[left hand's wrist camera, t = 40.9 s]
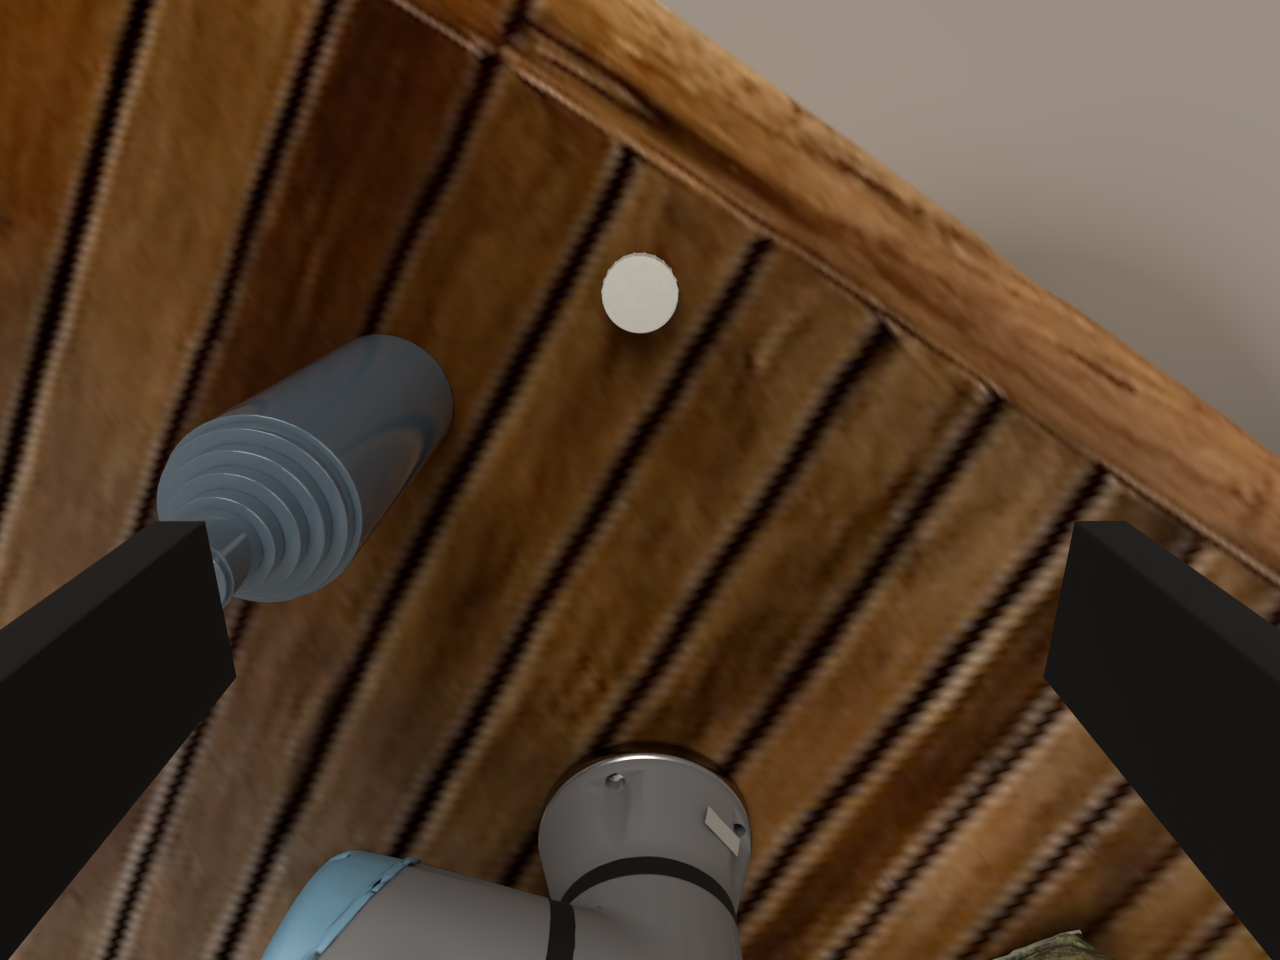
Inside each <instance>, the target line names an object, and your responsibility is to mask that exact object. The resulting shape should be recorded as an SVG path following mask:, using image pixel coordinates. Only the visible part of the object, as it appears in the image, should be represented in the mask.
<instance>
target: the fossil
mask: <svg viewBox="0 0 1280 960" xmlns="http://www.w3.org/2000/svg"><path fill="white" fill-rule="evenodd" d="M993 960H1113V959H1112V958H1110V957H1109V956H1107V955H1103V954H1099V953H1097V952H1096V951H1095V950H1094V948H1093V947H1092V946H1091V945H1090V944H1089V943H1088V942H1087V941H1086V940H1085V939H1084V937H1083V935H1082V933H1081V931H1080V930H1075V931H1070V932H1065V933H1060V934H1057V935H1055V936H1053V937H1051V938H1047V939H1044V940H1041V941H1038V942H1036V943H1033V944H1031V945H1028V946H1026V947H1023V948H1020V949H1017V950H1014V951H1012V952H1011V953H1010V954H1009V955H1006V956H1003V957H1000V958H997V959H993Z"/></svg>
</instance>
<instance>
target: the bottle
mask: <svg viewBox="0 0 1280 960" xmlns="http://www.w3.org/2000/svg"><path fill="white" fill-rule="evenodd" d="M452 416H453V397H452V392H451V388H450V385H449V382H448V380H447V378H446V376H445V374H444V372H443V371H442V369H441V367H440V366H439V365H438V363H437V362H436V361H435V360H434V359H433V358H432V357H431V356H430V355H429V354H428V353H427V352H426V351H424V350H423V349H422V348H420V347H419V346H417V345H415V344H414V343H412V342H410V341H407V340H405V339H402V338H399V337H396V336H390V335H378V334H377V335H367V336H363V337H359V338H356V339H354V340H351V341H349V342H348V343H346V344H344V345H342V346H341V347H339V348H337V349H335V350H333V351H332V352H330V353H328V354H326V355H325V356H323V357H321V358H319V359H317V360H316V361H314V362H312V363H310V364H309V365H307V366H305V367H303V368H302V369H300V370H298V371H296V372H294V373H293V374H291V375H289V376H287V377H286V378H284V379H282V380H280V381H278V382H277V383H275V384H273V385H271V386H270V387H268V388H266V389H264V390H263V391H261V392H259V393H257V394H255V395H254V396H252V397H250V398H248V399H247V400H245V401H243V402H241V403H239V404H238V405H236V406H234V407H232V408H231V409H229V410H227V411H225V412H224V413H222V414H220V415H218V416H216V417H215V418H213V419H211V420H209V421H208V422H206V423H204V424H202V425H200V426H199V427H197V428H195V429H194V430H193V431H191V432H190V433H189V434H187V435H186V436H185V437H184V438H183V439H182V440H181V441H180V442H179V443H178V445H177V446H176V448H175V449H174V451H173V452H172V453H171V455H170V457H169V460H168V462H167V464H166V467H165V469H164V471H163V473H162V475H161V479H160V482H159V486H158V493H157V511H158V517H159V521H205V523H206V528H207V533H208V538H209V543H210V548H211V553H212V558H213V563H214V568H215V573H216V578H217V583H218V588H219V593H220V598H221V603H222V608H223V609H224V608H225V607H226V606H227V604H228V603H229V602H230V601H231V599H232V597H237V598H241V599H244V600H250V601H256V602H278V601H285V600H290V599H294V598H297V597H300V596H303V595H305V594H308V593H311V592H314V591H316V590H318V589H320V588H322V587H324V586H326V585H328V584H329V583H331V582H332V581H333V580H335V579H336V578H337V577H338V576H339V575H340V574H341V573H342V572H344V570H345V569H346V568H347V566H348V565H349V564H350V563H351V561H352V560H353V559H354V557H355V556H356V555H357V553H358V552H359V551H360V549H361V548H362V547H363V545H364V544H365V543H366V541H367V540H368V539H369V537H370V536H371V535H372V533H373V532H374V531H375V529H376V528H377V527H378V525H379V524H380V523H381V521H382V520H383V519H384V517H385V516H386V515H387V513H388V512H389V511H390V509H391V508H392V507H393V505H394V504H395V503H396V501H397V500H398V499H399V497H400V496H401V495H402V493H403V492H404V491H405V489H406V488H407V487H408V486H409V484H410V483H411V482H412V480H413V479H414V478H415V476H416V475H417V474H418V472H419V471H420V470H421V468H422V467H423V466H424V464H425V463H426V462H427V460H428V459H429V458H430V456H431V455H432V454H433V452H434V451H435V450H436V448H437V447H438V446H439V444H440V443H441V442H442V440H443V439H444V437H445V435H446V434H447V432H448V429H449V427H450V424H451V420H452Z"/></svg>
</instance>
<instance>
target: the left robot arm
mask: <svg viewBox="0 0 1280 960" xmlns="http://www.w3.org/2000/svg"><path fill="white" fill-rule="evenodd" d="M235 678H236V673H235V668H234V663H233V658H232V653H231V648H230V643H229V638H228V633H227V628H226V623H225V618H224V613H223V608H222V603H221V598H220V593H219V588H218V583H217V578H216V573H215V568H214V563H213V558H212V553H211V548H210V543H209V538H208V533H207V528H206V523H205V521H154V522H152V523H151V524H149V525H148V526H147V527H145V528H144V529H142V530H141V531H140V532H138V533H137V534H135V535H134V536H133V537H131V538H130V539H128V540H127V541H125V542H124V543H123V544H121V545H120V546H118V547H117V548H116V549H114V550H113V551H111V552H110V553H108V554H107V555H106V556H104V557H103V558H101V559H100V560H99V561H97V562H96V563H94V564H93V565H92V566H90V567H89V568H87V569H86V570H84V571H83V572H82V573H80V574H79V575H77V576H76V577H75V578H73V579H72V580H70V581H69V582H67V583H66V584H65V585H63V586H62V587H60V588H59V589H58V590H56V591H55V592H53V593H52V594H50V595H49V596H48V597H46V598H45V599H43V600H42V601H41V602H39V603H38V604H36V605H35V606H34V607H32V608H31V609H29V610H28V611H26V612H25V613H24V614H22V615H21V616H19V617H18V618H17V619H15V620H14V621H12V622H11V623H9V624H8V625H7V626H5V627H4V628H2V629H1V630H0V960H8V959H9V958H10V957H11V955H12V954H13V953H14V952H15V950H16V949H17V948H18V947H19V946H20V944H21V943H22V942H23V941H24V939H25V938H26V937H27V936H28V934H29V933H30V932H31V931H32V929H33V928H34V927H35V926H36V925H37V923H38V922H39V921H40V920H41V918H42V917H43V916H44V915H45V913H46V912H47V911H48V910H49V908H50V907H51V906H52V905H53V903H54V902H55V901H56V900H57V899H58V897H59V896H60V895H61V894H62V892H63V891H64V890H65V889H66V887H67V886H68V885H69V884H70V882H71V881H72V880H73V879H74V877H75V876H76V875H77V874H78V873H79V871H80V870H81V869H82V868H83V866H84V865H85V864H86V863H87V861H88V860H89V859H90V858H91V856H92V855H93V854H94V853H95V851H96V850H97V849H98V848H99V847H100V845H101V844H102V843H103V842H104V840H105V839H106V838H107V837H108V835H109V834H110V833H111V832H112V830H113V829H114V828H115V827H116V825H117V824H118V823H119V822H120V821H121V819H122V818H123V817H124V816H125V814H126V813H127V812H128V811H129V809H130V808H131V807H132V806H133V804H134V803H135V802H136V801H137V800H138V798H139V797H140V796H141V795H142V793H143V792H144V791H145V790H146V788H147V787H148V786H149V785H150V783H151V782H152V781H153V780H154V778H155V777H156V776H157V775H158V774H159V772H160V771H161V770H162V769H163V767H164V766H165V765H166V764H167V762H168V761H169V760H170V759H171V757H172V756H173V755H174V754H175V752H176V751H177V750H178V749H179V748H180V746H181V745H182V744H183V743H184V741H185V740H186V739H187V738H188V736H189V735H190V734H191V733H192V731H193V730H194V729H195V728H196V726H197V725H198V724H199V723H200V722H201V720H202V719H203V718H204V717H205V715H206V714H207V713H208V712H209V710H210V709H211V708H212V707H213V705H214V704H215V703H216V702H217V701H218V699H219V698H220V697H221V696H222V694H223V693H224V692H225V691H226V689H227V688H228V687H229V686H230V684H231V683H232V682H233V681H234V679H235ZM1044 678H1045V679H1046V681H1047V682H1048V683H1049V684H1050V686H1051V687H1052V688H1053V689H1054V691H1055V692H1056V693H1057V694H1058V696H1059V697H1060V698H1061V699H1062V701H1063V702H1064V703H1065V704H1066V705H1067V707H1068V708H1069V709H1070V710H1071V712H1072V713H1073V714H1074V715H1075V717H1076V718H1077V719H1078V720H1079V722H1080V723H1081V724H1082V725H1083V726H1084V728H1085V729H1086V730H1087V731H1088V733H1089V734H1090V735H1091V736H1092V738H1093V739H1094V740H1095V741H1096V743H1097V744H1098V745H1099V746H1100V748H1101V749H1102V750H1103V751H1104V752H1105V754H1106V755H1107V756H1108V757H1109V759H1110V760H1111V761H1112V762H1113V764H1114V765H1115V766H1116V767H1117V769H1118V770H1119V771H1120V772H1121V774H1122V775H1123V776H1124V777H1125V778H1126V780H1127V781H1128V782H1129V783H1130V785H1131V786H1132V787H1133V788H1134V790H1135V791H1136V792H1137V793H1138V795H1139V796H1140V797H1141V798H1142V800H1143V801H1144V802H1145V803H1146V804H1147V806H1148V807H1149V808H1150V809H1151V811H1152V812H1153V813H1154V814H1155V816H1156V817H1157V818H1158V819H1159V821H1160V822H1161V823H1162V824H1163V825H1164V827H1165V828H1166V829H1167V830H1168V832H1169V833H1170V834H1171V835H1172V837H1173V838H1174V839H1175V840H1176V842H1177V843H1178V844H1179V845H1180V847H1181V848H1182V849H1183V850H1184V851H1185V853H1186V854H1187V855H1188V856H1189V858H1190V859H1191V860H1192V861H1193V863H1194V864H1195V865H1196V866H1197V868H1198V869H1199V870H1200V871H1201V873H1202V874H1203V875H1204V876H1205V877H1206V879H1207V880H1208V881H1209V882H1210V884H1211V885H1212V886H1213V887H1214V889H1215V890H1216V891H1217V892H1218V894H1219V895H1220V896H1221V897H1222V899H1223V900H1224V901H1225V902H1226V903H1227V905H1228V906H1229V907H1230V908H1231V910H1232V911H1233V912H1234V913H1235V915H1236V916H1237V917H1238V918H1239V920H1240V921H1241V922H1242V923H1243V925H1244V926H1245V927H1246V928H1247V929H1248V931H1249V932H1250V933H1251V934H1252V936H1253V937H1254V938H1255V939H1256V941H1257V942H1258V943H1259V944H1260V946H1261V947H1262V948H1263V949H1264V950H1265V952H1266V953H1267V954H1268V955H1269V957H1270V958H1271V959H1272V960H1280V630H1279V629H1278V628H1276V627H1275V626H1273V625H1272V624H1271V623H1269V622H1268V621H1266V620H1265V619H1263V618H1262V617H1261V616H1259V615H1258V614H1256V613H1255V612H1254V611H1252V610H1251V609H1249V608H1248V607H1246V606H1245V605H1244V604H1242V603H1241V602H1239V601H1238V600H1237V599H1235V598H1234V597H1232V596H1231V595H1230V594H1228V593H1227V592H1225V591H1224V590H1222V589H1221V588H1220V587H1218V586H1217V585H1215V584H1214V583H1213V582H1211V581H1210V580H1208V579H1207V578H1205V577H1204V576H1203V575H1201V574H1200V573H1198V572H1197V571H1196V570H1194V569H1193V568H1191V567H1190V566H1188V565H1187V564H1186V563H1184V562H1183V561H1181V560H1180V559H1179V558H1177V557H1176V556H1174V555H1173V554H1172V553H1170V552H1169V551H1167V550H1166V549H1164V548H1163V547H1162V546H1160V545H1159V544H1157V543H1156V542H1155V541H1153V540H1152V539H1150V538H1149V537H1147V536H1146V535H1145V534H1143V533H1142V532H1140V531H1139V530H1138V529H1136V528H1135V527H1133V526H1132V525H1131V524H1129V523H1128V522H1126V521H1075V523H1074V528H1073V533H1072V538H1071V543H1070V548H1069V553H1068V558H1067V563H1066V568H1065V573H1064V578H1063V583H1062V588H1061V593H1060V598H1059V603H1058V608H1057V613H1056V618H1055V623H1054V628H1053V633H1052V638H1051V643H1050V648H1049V653H1048V658H1047V663H1046V668H1045V673H1044ZM538 847H539V854H540V859H541V863H542V867H543V871H544V873H545V878H546V882H547V886H548V890H549V894H550V898H551V899H549V898H546V897H543V896H539V895H535V894H532V893H528V892H524V891H521V890H517V889H514V888H510V887H506V886H503V885H499V884H495V883H492V882H488V881H485V880H481V879H477V878H474V877H470V876H466V875H463V874H459V873H456V872H452V871H448V870H445V869H441V868H437V867H434V866H430V865H427V864H423V863H421V861H420V859H417V858H413V857H408V858H405V859H399V858H394V857H389V856H385V855H380V854H375V853H371V852H366V851H361V850H351V851H346V852H343V853H340V854H338V855H337V856H335V857H333V858H331V859H330V860H329V861H327V862H326V863H325V864H324V865H323V866H322V867H321V868H320V869H319V870H318V871H317V872H316V873H315V874H314V875H313V877H312V878H311V879H310V880H309V881H308V883H307V884H306V886H305V887H304V888H303V890H302V891H301V893H300V894H299V896H298V897H297V898H296V900H295V901H294V903H293V905H292V906H291V908H290V909H289V911H288V912H287V914H286V916H285V917H284V919H283V921H282V922H281V924H280V926H279V927H278V929H277V931H276V932H275V934H274V936H273V938H272V939H271V941H270V943H269V945H268V947H267V948H266V950H265V952H264V954H263V956H262V958H261V959H260V960H742V953H741V946H740V938H739V933H738V926H737V916H736V914H737V910H738V906H739V902H740V898H741V894H742V889H743V885H744V881H745V877H746V873H747V869H748V865H749V861H750V855H751V850H752V833H751V826H750V821H749V815H748V809H747V806H746V802H745V800H744V798H743V795H742V793H741V791H740V790H739V788H738V786H737V785H736V784H735V782H734V781H733V780H732V778H731V777H730V776H729V775H728V774H727V773H726V772H725V771H724V770H723V769H722V768H720V767H719V766H718V765H717V764H715V763H714V762H712V761H711V760H709V759H708V758H706V757H704V756H702V755H700V754H698V753H696V752H694V751H691V750H688V749H686V748H682V747H679V746H675V745H670V744H665V743H656V742H635V743H626V744H620V745H616V746H611V747H608V748H605V749H602V750H599V751H597V752H595V753H592V754H590V755H588V756H587V757H585V758H583V759H581V760H580V761H578V762H577V763H575V764H574V765H573V766H571V767H570V768H569V769H568V770H567V771H566V772H564V773H563V774H562V775H561V777H560V778H559V779H558V780H557V781H556V783H555V784H554V785H553V787H552V788H551V790H550V792H549V794H548V796H547V798H546V801H545V803H544V806H543V811H542V815H541V822H540V828H539V837H538Z"/></svg>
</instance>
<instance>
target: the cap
mask: <svg viewBox="0 0 1280 960" xmlns="http://www.w3.org/2000/svg"><path fill="white" fill-rule="evenodd" d="M676 281H677V280H676V277H674V275H673V273H672V269H671V268H669V267H668V266H667V264H666V263H665V262H664V260H663V261H662V260H661V259H659V258H658V257H656V256H655V255H654V256H653V255H651V254H647V253H645V252H644V253H635V252H633V254H629V255H627V256H625V255H624V256H623V257H622V258H621V259H619V260H618V261H615V263H614V265H613V266H612V267H611V268H610V269H608V272H607V275H606V278H604V280H603V283H604V284H603V288H602V291H601V293H602V304H603V305H604V308H605V311H606V313H607V315H608V316H609V318H610V319H611V320H612V321H613V322H614V323H615V324H616V325H617V326H619V327H620V328H622V329H624V330H626V331H629V332H633V333H647V332H651V331H654V330H656V329H658V328H660V327H662V326H663V325H664V324H665V323H666V322H667V321H669V319H670V318H671V316H672V315H673V313H674V312H675V309H676V306H677V302H678V292H679V289H678V287H677V284H676Z"/></svg>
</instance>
